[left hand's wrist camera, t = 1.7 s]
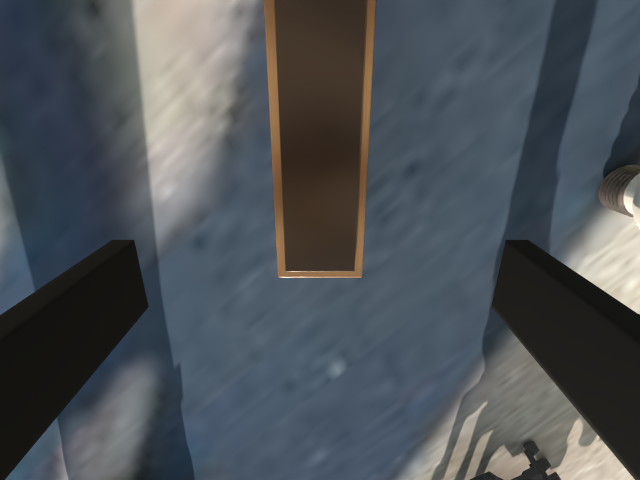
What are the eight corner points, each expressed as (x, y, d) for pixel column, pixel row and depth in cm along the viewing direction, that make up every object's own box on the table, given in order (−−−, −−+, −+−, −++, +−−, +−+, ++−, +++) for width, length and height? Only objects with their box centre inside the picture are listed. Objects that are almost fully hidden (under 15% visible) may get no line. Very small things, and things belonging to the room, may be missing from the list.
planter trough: (349, 224, 30) (362, 281, 20) (290, 224, 29) (277, 281, 20) (365, -257, 19) (408, -598, 10) (274, -257, 19) (231, -598, 10)
